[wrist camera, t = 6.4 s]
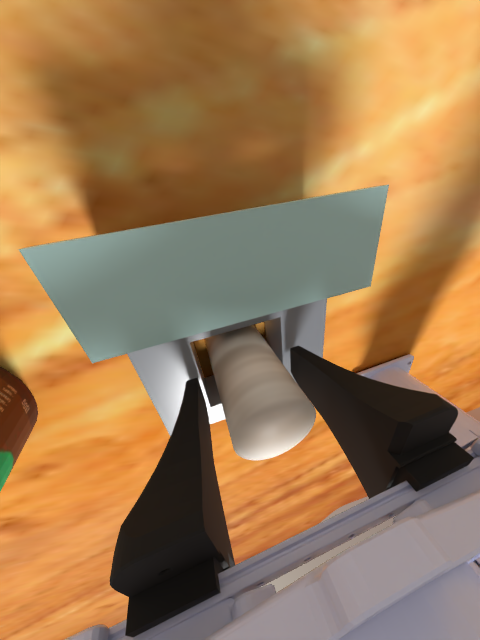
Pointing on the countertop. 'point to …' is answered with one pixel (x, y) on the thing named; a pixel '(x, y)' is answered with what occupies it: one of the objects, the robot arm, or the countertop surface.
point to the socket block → (211, 285)
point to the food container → (14, 420)
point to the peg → (258, 395)
